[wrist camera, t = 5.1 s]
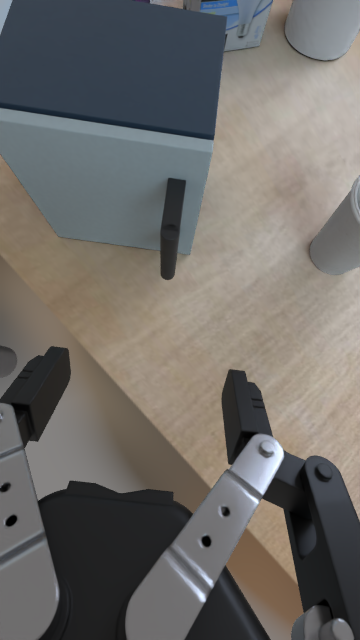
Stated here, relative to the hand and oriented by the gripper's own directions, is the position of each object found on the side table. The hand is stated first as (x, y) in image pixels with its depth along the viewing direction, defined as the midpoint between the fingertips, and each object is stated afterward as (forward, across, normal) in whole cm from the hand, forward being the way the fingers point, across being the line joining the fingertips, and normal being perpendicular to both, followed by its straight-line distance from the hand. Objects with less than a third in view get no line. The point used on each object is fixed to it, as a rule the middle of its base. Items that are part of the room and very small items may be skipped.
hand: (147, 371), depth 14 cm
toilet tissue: (+51, -18, -27) cm, 60 cm away
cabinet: (+27, +6, -3) cm, 28 cm away
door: (+21, +6, +3) cm, 22 cm away
